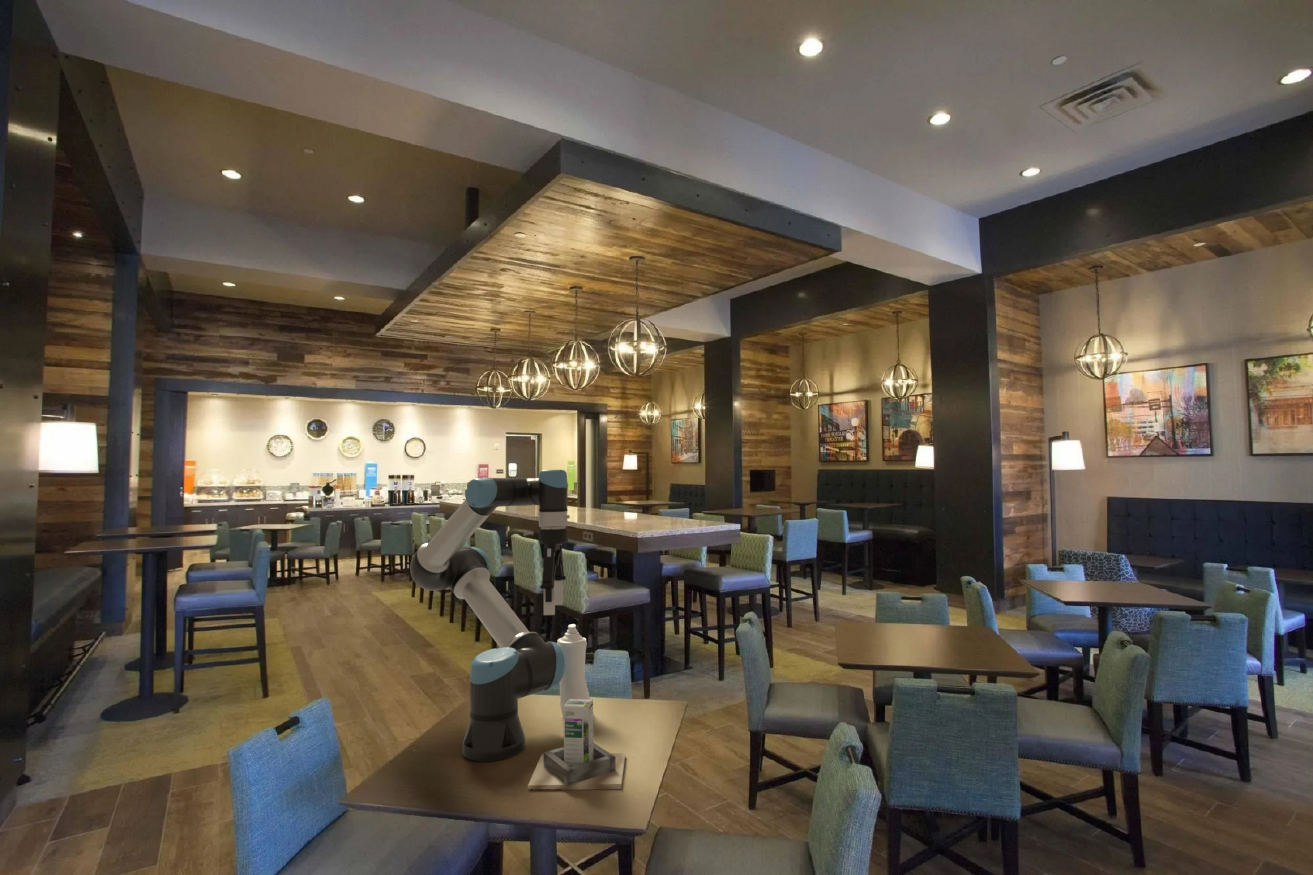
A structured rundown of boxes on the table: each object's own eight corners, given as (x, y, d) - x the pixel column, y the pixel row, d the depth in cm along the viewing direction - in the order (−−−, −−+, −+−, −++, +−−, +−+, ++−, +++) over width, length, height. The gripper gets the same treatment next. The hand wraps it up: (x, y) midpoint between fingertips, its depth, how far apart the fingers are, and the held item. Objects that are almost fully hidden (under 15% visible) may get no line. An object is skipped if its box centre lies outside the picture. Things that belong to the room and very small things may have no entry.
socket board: (527, 790, 136) (527, 771, 136) (542, 757, 152) (541, 740, 153) (621, 789, 136) (620, 770, 136) (625, 756, 152) (625, 739, 153)
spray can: (549, 721, 176) (549, 629, 179) (560, 708, 187) (559, 621, 189) (590, 722, 175) (589, 630, 177) (598, 709, 185) (598, 621, 187)
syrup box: (563, 772, 142) (562, 705, 143) (570, 761, 148) (569, 697, 149) (588, 773, 141) (587, 706, 142) (594, 762, 147) (593, 697, 148)
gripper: (560, 530, 156) (560, 619, 154) (573, 525, 181) (574, 600, 179) (529, 531, 156) (529, 619, 154) (547, 525, 181) (547, 601, 179)
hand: (553, 609), depth 167 cm, fingers open, 13 cm apart
